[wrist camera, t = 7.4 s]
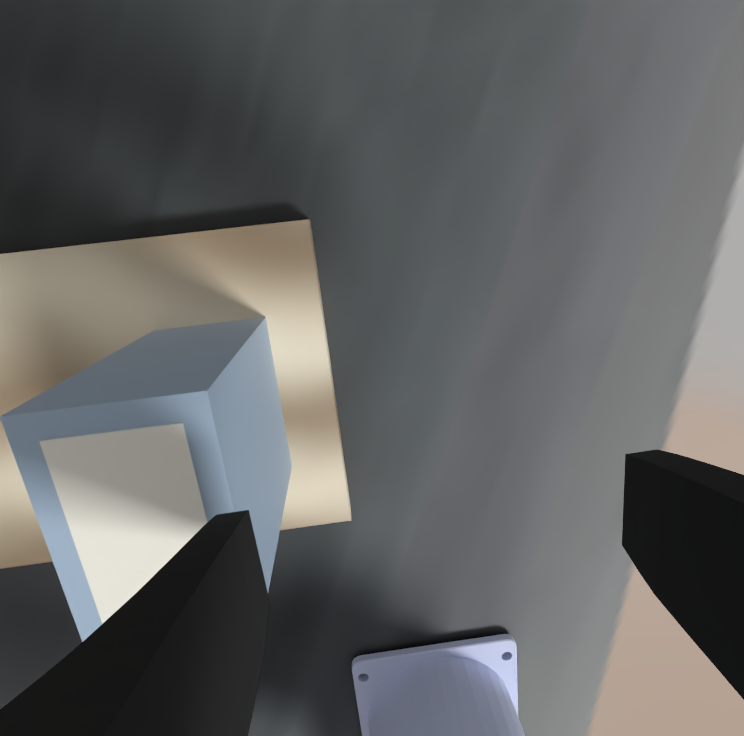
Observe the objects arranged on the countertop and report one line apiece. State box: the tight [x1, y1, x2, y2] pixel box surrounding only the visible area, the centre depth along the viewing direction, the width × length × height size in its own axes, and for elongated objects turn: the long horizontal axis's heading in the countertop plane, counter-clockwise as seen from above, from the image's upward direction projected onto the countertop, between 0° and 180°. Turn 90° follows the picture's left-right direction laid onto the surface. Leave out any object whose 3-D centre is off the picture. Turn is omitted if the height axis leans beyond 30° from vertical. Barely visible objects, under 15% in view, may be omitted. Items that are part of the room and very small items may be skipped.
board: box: [0, 219, 351, 569], centre depth 18 cm, size 12×16×1 cm
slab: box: [0, 317, 292, 642], centre depth 14 cm, size 6×4×8 cm, turn 6°
